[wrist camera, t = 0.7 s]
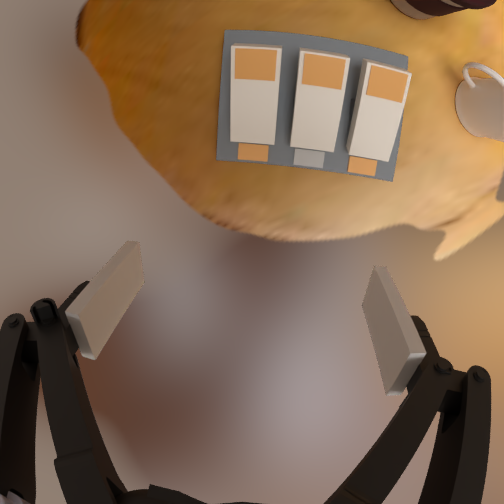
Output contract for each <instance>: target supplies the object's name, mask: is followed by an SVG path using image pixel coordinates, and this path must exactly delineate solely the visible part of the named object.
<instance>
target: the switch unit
mask: <svg viewBox="0 0 504 504" xmlns="http://www.w3.org/2000/svg"><path fill="white" fill-rule="evenodd" d="M235 43H243V44H265V45H278V46H282V58H281V71H280V84H279V97H278V109H277V122H276V134H275V143H274V145H269V144H258V143H246V142H231V141H230V99H231V46H232V45H233V44H235ZM300 48H307V49H314V50H321V51H328V52H334V53H339V54H345V55H347V56H348V57H349V58H350V63H349V70H348V76H347V82H346V88H345V94H344V100H343V106H342V111H341V117H340V122H339V128H338V133H337V138H336V143H335V148H334V152H328V151H321V150H314V149H306V148H298V147H290V138H291V129H292V120H293V111H294V101H295V91H296V82H297V71H298V61H299V50H300ZM363 58H364V59H369V60H373V61H377V62H381V63H385V64H389V65H393V66H397V67H400V68H404V69H406V70H407V68H408V56H405V55H401V54H398V53H394V52H391V51H387V50H383V49H379V48H375V47H371V46H367V45H362V44H358V43H353V42H348V41H343V40H337V39H331V38H325V37H319V36H312V35H304V34H295V33H285V32H273V31H255V30H225V34H224V46H223V58H222V71H221V85H220V100H219V117H218V135H217V156H216V160H222V161H237V162H249V163H261V164H271V165H281V166H290V167H299V168H307V169H315V170H323V171H330V172H337V173H344V174H350V175H357V176H363V177H369V178H375V179H380V180H386V181H391V182H393V177H394V172H395V166H396V160H397V154H398V148H399V141H400V135H401V127H402V120H403V112H404V109H403V112H402V116H401V120H400V124H399V127H398V131H397V134H396V138H395V141H394V145H393V148H392V152H391V155H390V158H389V161H388V162H387V161H382V160H376V159H371V158H365V157H360V156H354V155H349V154H348V150H347V147H346V144H347V139H348V135H349V130H350V125H351V120H352V115H353V110H354V105H355V100H356V95H357V89H358V84H359V78H360V72H361V66H362V60H363Z"/></svg>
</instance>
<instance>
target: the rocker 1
mask: <svg viewBox="0 0 504 504" xmlns="http://www.w3.org/2000/svg"><path fill="white" fill-rule="evenodd" d="M281 58H282V46H278V45H265V44H243V43H235V44H233V45H232V46H231V99H230V141H231V142H246V143H258V144H269V145H274V143H275V134H276V122H277V109H278V97H279V84H280V71H281Z"/></svg>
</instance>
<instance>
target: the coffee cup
mask: <svg viewBox="0 0 504 504" xmlns="http://www.w3.org/2000/svg"><path fill="white" fill-rule="evenodd" d="M391 1H392V3H393V4H394V5H395V6H396V7H397V8H398V9H399V10H400V11H401V12H403V13H404V14H406V15H408V16H410V17H412V18H415V19H429V18H432V17H435V16H443V15H447V14H450V13H454V12H457V11H461V10H465V9H468V8H469V9H482V8H486V7H489V6H491V5H493V4H494V3H495V2H496V0H391Z"/></svg>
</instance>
